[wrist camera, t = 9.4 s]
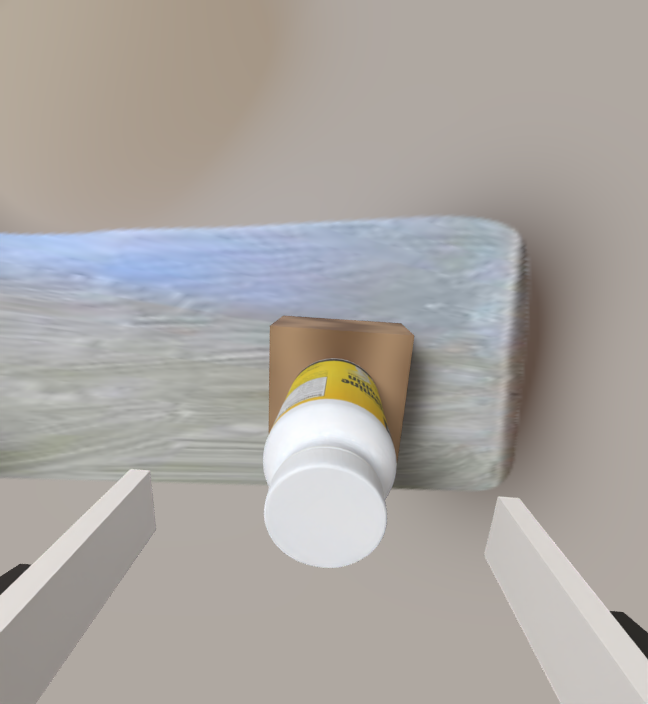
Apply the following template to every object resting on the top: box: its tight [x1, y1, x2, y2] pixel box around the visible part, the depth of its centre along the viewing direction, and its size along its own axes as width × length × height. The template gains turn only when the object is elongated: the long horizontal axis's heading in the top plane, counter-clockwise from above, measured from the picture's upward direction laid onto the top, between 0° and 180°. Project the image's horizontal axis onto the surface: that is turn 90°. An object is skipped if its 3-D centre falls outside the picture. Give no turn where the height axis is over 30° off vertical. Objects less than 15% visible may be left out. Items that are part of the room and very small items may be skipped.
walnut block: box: [269, 316, 414, 463], centre depth 25 cm, size 10×10×5 cm
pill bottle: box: [263, 358, 396, 568], centre depth 17 cm, size 6×6×12 cm
